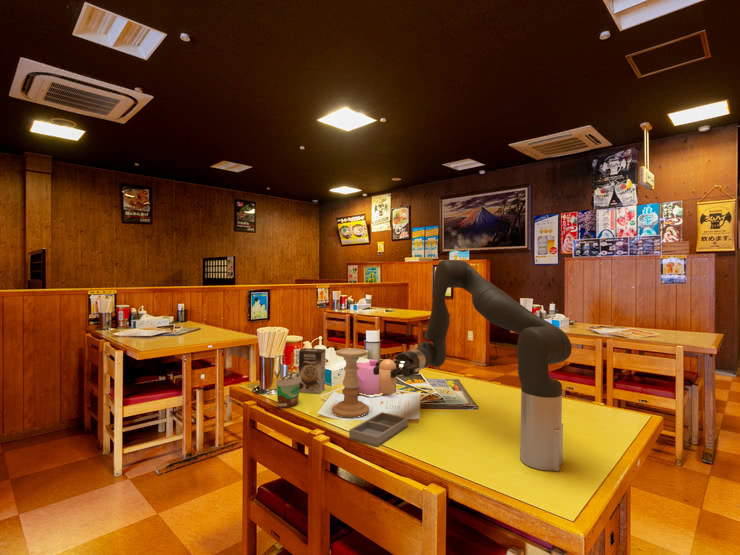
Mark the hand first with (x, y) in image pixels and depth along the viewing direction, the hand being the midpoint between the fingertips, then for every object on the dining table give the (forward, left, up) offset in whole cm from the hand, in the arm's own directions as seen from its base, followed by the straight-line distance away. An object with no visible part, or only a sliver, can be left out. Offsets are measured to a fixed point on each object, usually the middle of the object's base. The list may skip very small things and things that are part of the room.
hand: (383, 372), depth 116 cm
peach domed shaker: (0, -3, -6) cm, 7 cm away
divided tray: (0, +2, -17) cm, 17 cm away
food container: (+38, -2, -17) cm, 42 cm away
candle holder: (+17, -8, -17) cm, 25 cm away
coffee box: (+43, -18, -17) cm, 49 cm away
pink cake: (+23, -31, -17) cm, 42 cm away
